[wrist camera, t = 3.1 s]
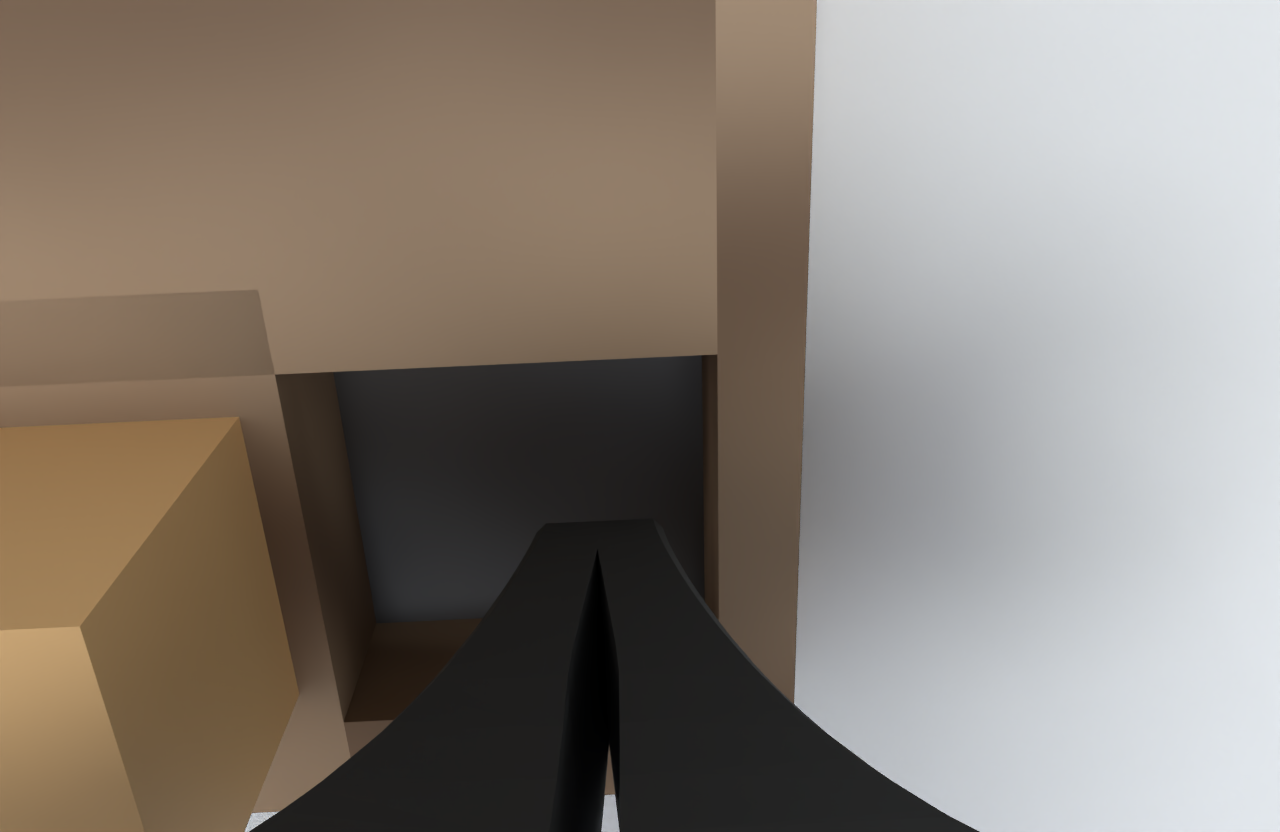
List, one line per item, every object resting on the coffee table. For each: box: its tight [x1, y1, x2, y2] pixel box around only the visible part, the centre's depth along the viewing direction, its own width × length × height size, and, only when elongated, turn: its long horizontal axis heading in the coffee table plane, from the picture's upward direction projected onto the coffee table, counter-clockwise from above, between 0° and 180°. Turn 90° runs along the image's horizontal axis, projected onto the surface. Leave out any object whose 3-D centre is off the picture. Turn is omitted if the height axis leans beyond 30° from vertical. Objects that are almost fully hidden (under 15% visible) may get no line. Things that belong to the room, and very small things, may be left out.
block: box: [0, 417, 299, 832], centre depth 11 cm, size 4×4×4 cm
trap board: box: [0, 0, 817, 813], centre depth 13 cm, size 14×19×2 cm
